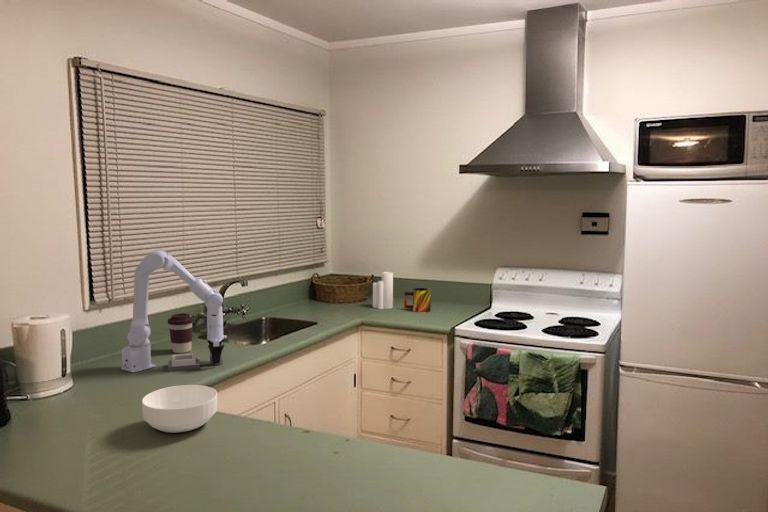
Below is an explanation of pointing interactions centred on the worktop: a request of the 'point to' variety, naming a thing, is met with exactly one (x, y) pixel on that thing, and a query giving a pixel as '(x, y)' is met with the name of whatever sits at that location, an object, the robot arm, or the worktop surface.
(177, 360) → the camera body
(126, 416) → the worktop surface
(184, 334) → the coffee cup
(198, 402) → the bowl
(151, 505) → the worktop surface
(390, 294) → the vase
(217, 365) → the lens
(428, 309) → the mug
